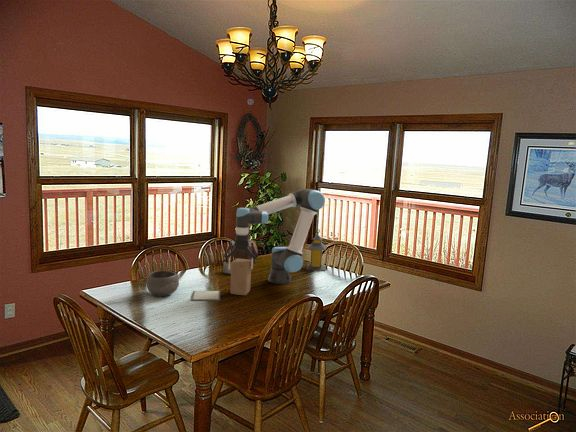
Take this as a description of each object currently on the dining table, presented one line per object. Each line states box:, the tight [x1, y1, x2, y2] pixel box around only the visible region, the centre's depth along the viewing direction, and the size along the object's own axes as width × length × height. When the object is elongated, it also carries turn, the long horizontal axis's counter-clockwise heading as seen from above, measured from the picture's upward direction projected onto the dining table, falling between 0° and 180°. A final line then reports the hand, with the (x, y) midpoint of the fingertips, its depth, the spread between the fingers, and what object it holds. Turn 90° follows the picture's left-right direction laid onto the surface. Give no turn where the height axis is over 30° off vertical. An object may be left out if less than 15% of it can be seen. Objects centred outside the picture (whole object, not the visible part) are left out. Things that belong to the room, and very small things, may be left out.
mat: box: [190, 290, 221, 302], centre depth 246 cm, size 16×16×1 cm
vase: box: [231, 224, 259, 261], centre depth 324 cm, size 25×20×30 cm
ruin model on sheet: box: [222, 261, 231, 275], centre depth 295 cm, size 11×3×10 cm, turn 67°
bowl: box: [146, 269, 180, 297], centre depth 244 cm, size 18×18×13 cm
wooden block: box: [229, 258, 252, 296], centre depth 253 cm, size 10×10×20 cm
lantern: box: [305, 228, 327, 272], centre depth 317 cm, size 14×14×30 cm
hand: (240, 268), depth 253 cm, fingers open, 13 cm apart
